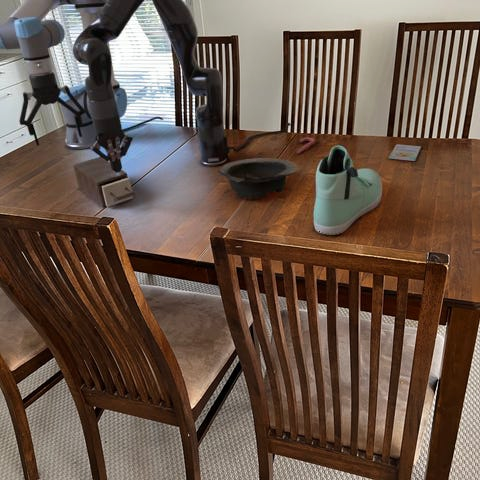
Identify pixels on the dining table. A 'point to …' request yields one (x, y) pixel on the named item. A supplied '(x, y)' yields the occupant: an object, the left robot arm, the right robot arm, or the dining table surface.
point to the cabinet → (95, 177)
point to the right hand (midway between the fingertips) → (117, 171)
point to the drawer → (117, 191)
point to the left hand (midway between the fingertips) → (59, 140)
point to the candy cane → (306, 144)
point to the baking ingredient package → (405, 152)
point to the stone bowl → (257, 176)
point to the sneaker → (343, 192)
